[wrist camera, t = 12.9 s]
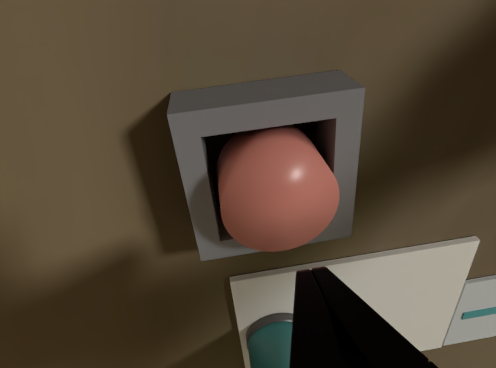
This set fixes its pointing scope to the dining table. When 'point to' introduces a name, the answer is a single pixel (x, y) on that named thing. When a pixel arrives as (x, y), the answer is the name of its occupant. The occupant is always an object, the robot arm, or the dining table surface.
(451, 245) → the paper
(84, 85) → the dining table surface
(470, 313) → the card
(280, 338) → the canister
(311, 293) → the robot arm
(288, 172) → the button
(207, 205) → the button housing
